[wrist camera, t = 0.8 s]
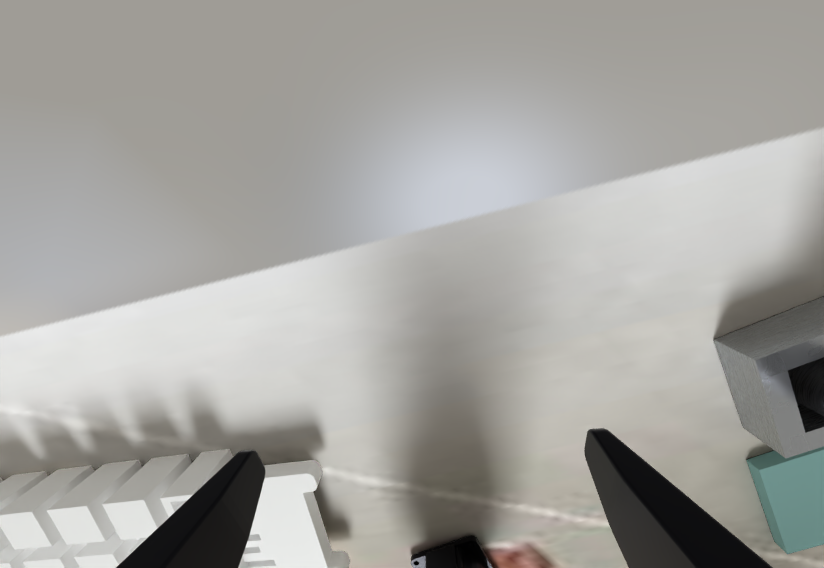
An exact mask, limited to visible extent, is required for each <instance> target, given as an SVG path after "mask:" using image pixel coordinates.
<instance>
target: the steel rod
mask: <svg viewBox="0 0 824 568" xmlns="http://www.w3.org/2000/svg"><path fill="white" fill-rule="evenodd" d="M787 371H788V374H789V378H790V381H791V385H792V388H793V392H794V395H795V399H796V401H797V402H799V403H801V404H803V405H804V406H806V407H808V408H810V409H812V410H813V411H815V412H817V413H819V414H821V415H823V416H824V357H823V358H820V359H817V360H815V361H812V362H809V363H806V364H804V365H801V366H798V367H795V368H793V369H790V370H787Z"/></svg>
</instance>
